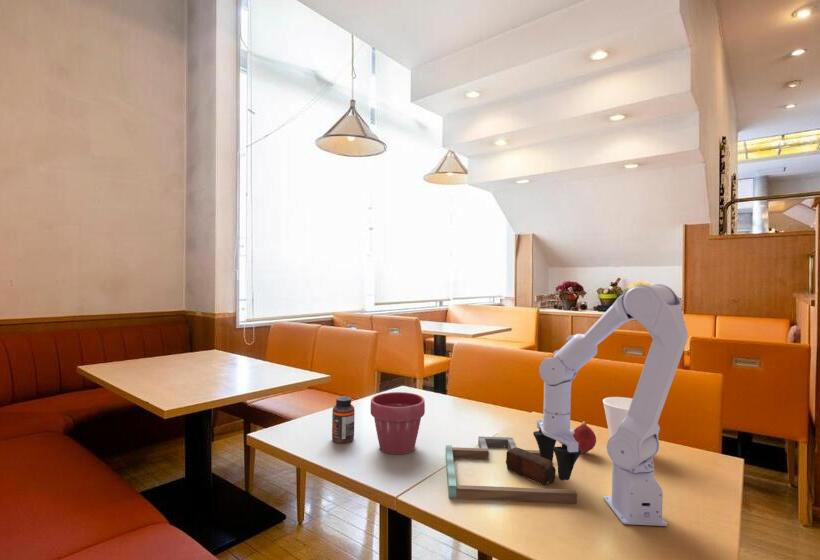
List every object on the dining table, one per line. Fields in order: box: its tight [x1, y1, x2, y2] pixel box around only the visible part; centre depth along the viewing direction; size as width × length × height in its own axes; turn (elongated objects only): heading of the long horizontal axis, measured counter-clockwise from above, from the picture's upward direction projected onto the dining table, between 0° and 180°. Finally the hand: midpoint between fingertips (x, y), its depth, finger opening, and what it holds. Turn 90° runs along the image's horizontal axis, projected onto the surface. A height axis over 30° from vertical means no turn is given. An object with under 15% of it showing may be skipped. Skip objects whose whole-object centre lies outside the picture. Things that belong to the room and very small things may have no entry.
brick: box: [505, 447, 557, 486], centre depth 99 cm, size 11×4×5 cm, turn 42°
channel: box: [445, 435, 578, 504], centre depth 102 cm, size 29×26×2 cm
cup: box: [602, 396, 633, 439], centre depth 114 cm, size 12×12×12 cm
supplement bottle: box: [331, 395, 356, 444], centre depth 118 cm, size 6×6×11 cm
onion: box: [572, 421, 597, 454], centre depth 112 cm, size 6×6×8 cm
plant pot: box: [370, 391, 426, 455], centre depth 113 cm, size 14×14×13 cm
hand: (555, 471), depth 97 cm, fingers open, 7 cm apart
